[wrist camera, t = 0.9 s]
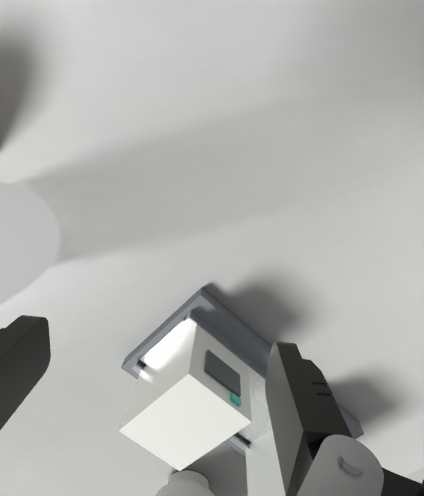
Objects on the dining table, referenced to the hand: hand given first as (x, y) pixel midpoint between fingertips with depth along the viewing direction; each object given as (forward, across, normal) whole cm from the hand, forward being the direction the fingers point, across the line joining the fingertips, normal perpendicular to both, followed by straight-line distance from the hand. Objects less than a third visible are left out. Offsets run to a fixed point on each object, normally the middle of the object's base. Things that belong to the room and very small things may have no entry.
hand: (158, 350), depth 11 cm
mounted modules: (+17, -8, +20) cm, 27 cm away
